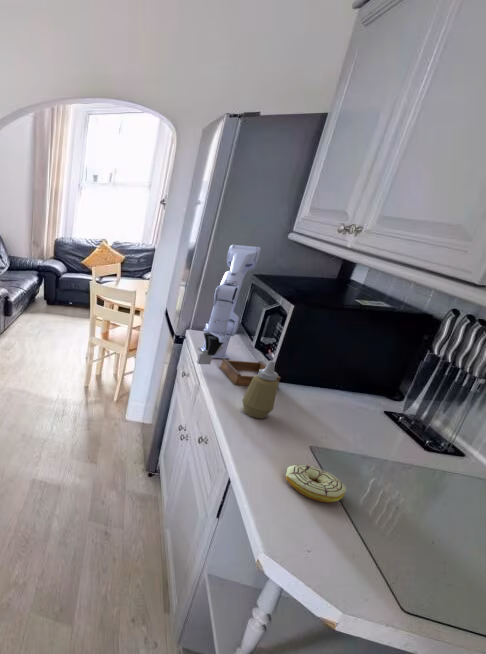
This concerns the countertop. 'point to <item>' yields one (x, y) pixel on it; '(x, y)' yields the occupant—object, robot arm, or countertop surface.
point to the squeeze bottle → (261, 392)
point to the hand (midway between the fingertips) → (209, 353)
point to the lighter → (206, 356)
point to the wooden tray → (233, 366)
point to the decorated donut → (315, 483)
